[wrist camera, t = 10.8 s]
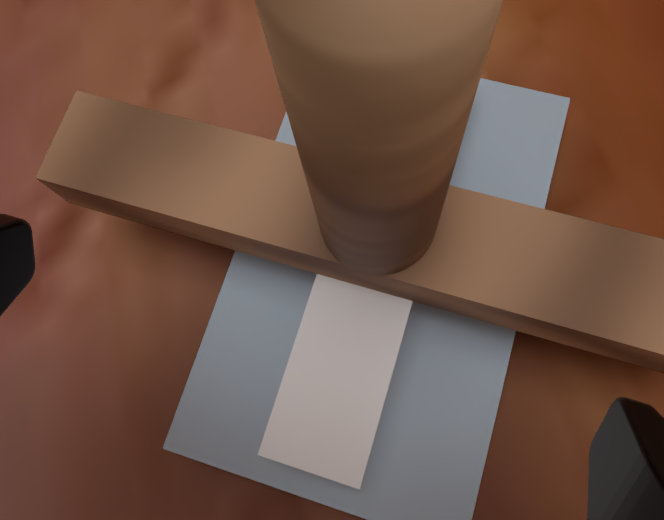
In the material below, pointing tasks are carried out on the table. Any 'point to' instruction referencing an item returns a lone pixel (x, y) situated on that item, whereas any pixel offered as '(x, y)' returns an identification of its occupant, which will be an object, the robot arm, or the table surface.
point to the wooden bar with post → (371, 180)
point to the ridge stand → (366, 358)
